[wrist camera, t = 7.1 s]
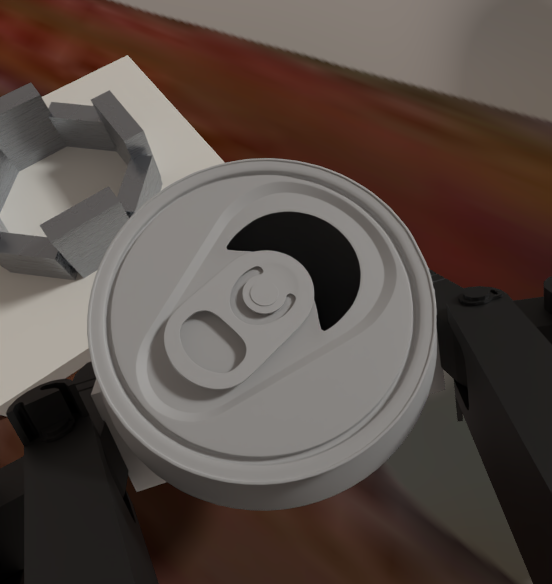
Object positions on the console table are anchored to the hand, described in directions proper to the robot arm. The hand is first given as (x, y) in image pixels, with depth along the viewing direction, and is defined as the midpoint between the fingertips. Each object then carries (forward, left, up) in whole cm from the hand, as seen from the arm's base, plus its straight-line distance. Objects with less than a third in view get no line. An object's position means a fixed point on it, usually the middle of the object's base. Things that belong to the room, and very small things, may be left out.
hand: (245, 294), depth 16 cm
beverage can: (+1, +3, -4) cm, 6 cm away
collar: (+3, -15, -8) cm, 17 cm away
